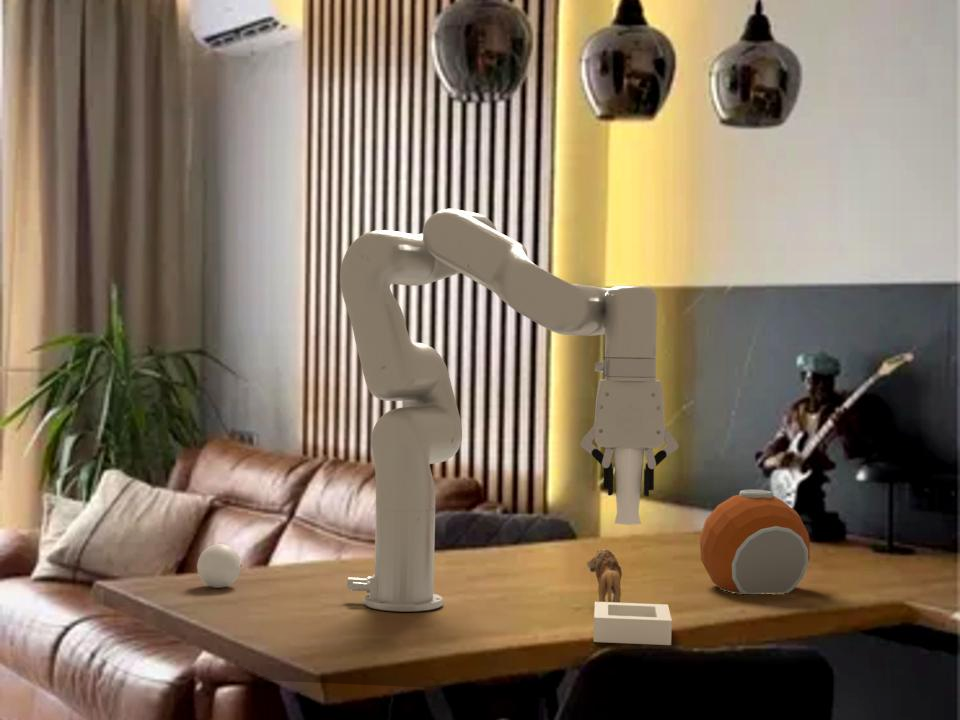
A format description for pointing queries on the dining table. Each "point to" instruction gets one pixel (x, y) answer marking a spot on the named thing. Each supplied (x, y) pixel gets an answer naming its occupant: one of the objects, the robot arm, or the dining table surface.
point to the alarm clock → (755, 544)
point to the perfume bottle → (628, 484)
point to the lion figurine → (606, 575)
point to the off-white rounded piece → (219, 565)
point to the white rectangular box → (632, 623)
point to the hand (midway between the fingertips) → (628, 493)
